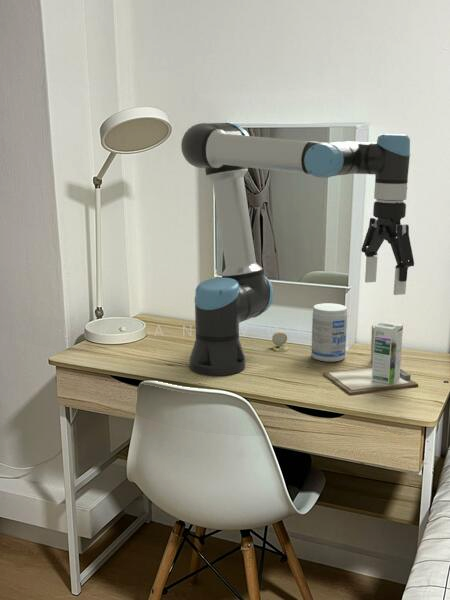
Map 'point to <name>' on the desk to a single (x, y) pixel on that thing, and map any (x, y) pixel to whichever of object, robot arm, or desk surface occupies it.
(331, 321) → the supplement tub
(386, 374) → the syrup box
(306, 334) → the desk surface
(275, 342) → the eyeshadow
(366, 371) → the clipboard
